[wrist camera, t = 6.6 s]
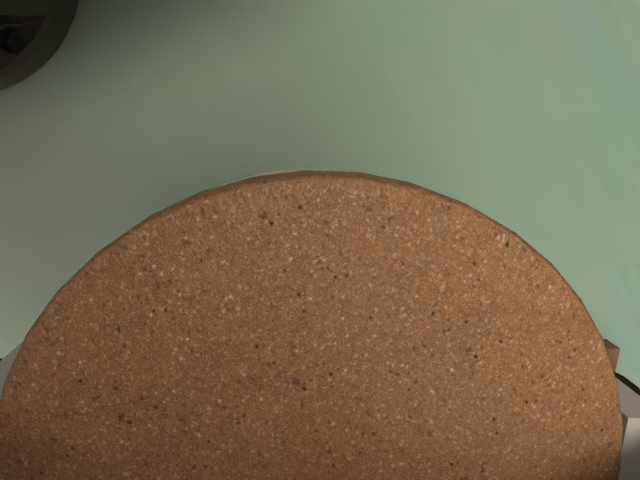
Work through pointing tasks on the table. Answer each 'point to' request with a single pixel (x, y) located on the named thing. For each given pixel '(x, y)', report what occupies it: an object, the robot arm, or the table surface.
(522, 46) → the table surface
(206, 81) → the table surface
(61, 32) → the robot arm
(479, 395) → the lidded jar
